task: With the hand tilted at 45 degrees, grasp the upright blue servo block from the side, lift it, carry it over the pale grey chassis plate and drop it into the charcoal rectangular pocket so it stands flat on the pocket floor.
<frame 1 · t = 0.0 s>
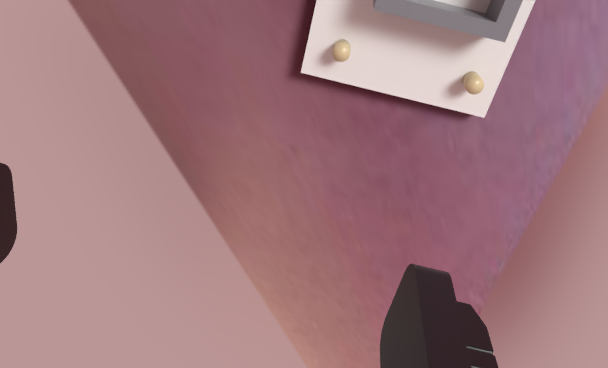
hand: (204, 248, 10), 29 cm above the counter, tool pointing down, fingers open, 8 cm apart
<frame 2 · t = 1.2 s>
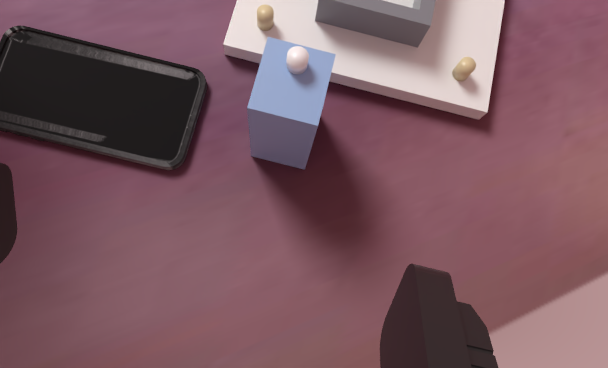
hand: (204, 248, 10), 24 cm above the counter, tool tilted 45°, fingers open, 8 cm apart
phone: (97, 102, 36), on the counter
chassis: (370, 9, 39), on the counter
servo: (285, 134, 36), on the counter
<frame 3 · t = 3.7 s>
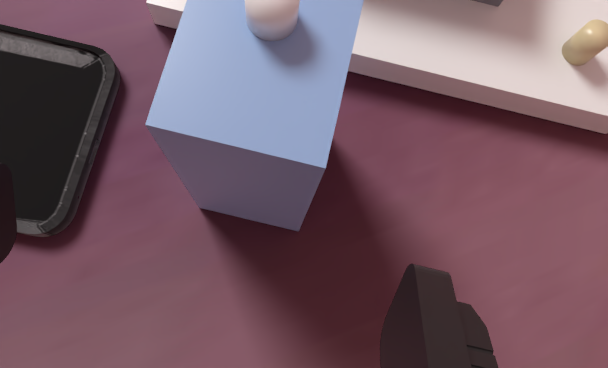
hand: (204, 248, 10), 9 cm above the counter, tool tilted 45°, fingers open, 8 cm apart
servo: (262, 166, 20), on the counter
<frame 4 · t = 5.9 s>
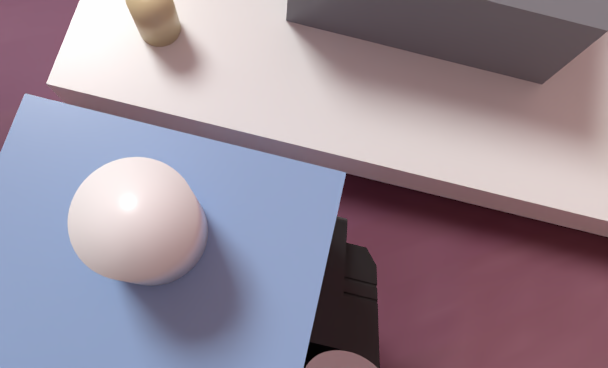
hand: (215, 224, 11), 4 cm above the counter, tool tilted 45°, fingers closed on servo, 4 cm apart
servo: (212, 313, 14), on the counter, touching gripper
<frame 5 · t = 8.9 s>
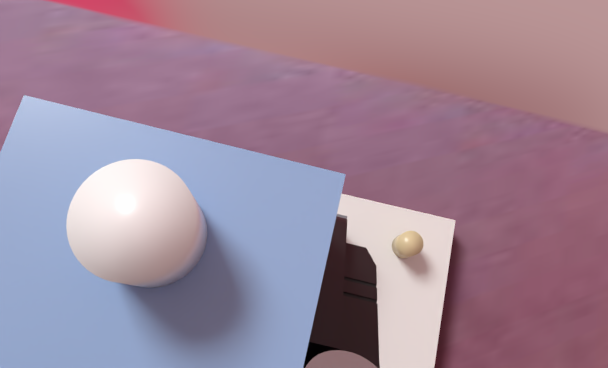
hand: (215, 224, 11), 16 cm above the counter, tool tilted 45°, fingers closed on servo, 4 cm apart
chassis: (238, 311, 26), on the counter
servo: (211, 314, 14), point 12 cm above the counter, touching gripper
when the fingers open (7 cm above the counter, at t = 12.0 s): servo drops 1 cm, resting on chassis.
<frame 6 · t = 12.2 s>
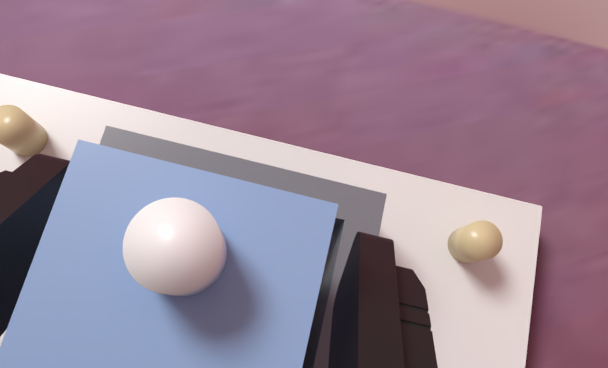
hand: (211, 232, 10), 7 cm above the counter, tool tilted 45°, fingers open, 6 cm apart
chassis: (212, 342, 17), on the counter
servo: (219, 315, 16), point 2 cm above the counter, touching chassis
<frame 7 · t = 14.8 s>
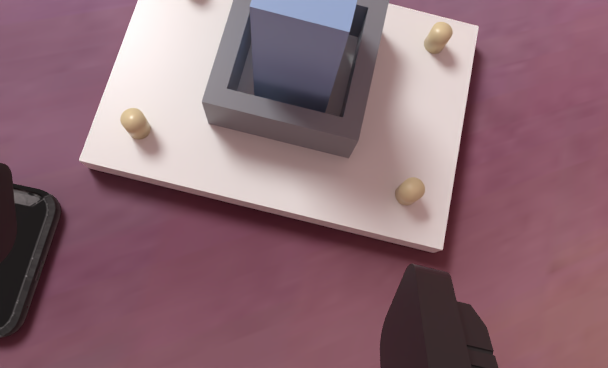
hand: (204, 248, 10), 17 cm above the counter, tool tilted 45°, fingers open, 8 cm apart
chassis: (291, 99, 30), on the counter
servo: (298, 74, 28), point 1 cm above the counter, touching chassis
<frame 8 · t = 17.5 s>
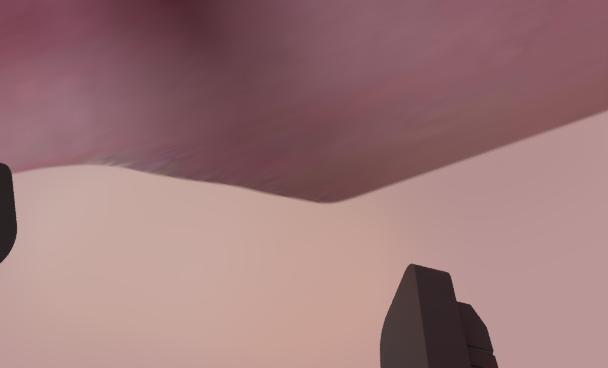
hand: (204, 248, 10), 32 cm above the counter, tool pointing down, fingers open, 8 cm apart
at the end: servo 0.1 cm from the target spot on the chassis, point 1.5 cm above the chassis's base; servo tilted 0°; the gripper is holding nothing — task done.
